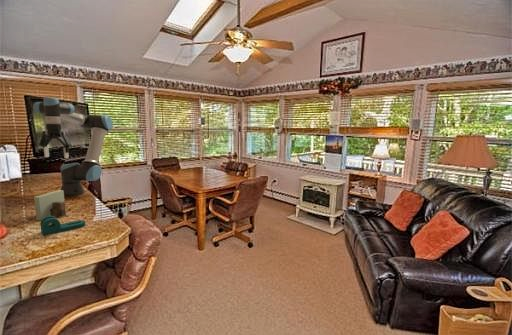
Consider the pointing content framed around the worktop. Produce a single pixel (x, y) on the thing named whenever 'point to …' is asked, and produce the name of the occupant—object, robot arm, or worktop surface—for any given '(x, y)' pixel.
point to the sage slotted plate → (47, 203)
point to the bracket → (58, 225)
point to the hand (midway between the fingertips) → (56, 157)
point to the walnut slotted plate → (58, 209)
